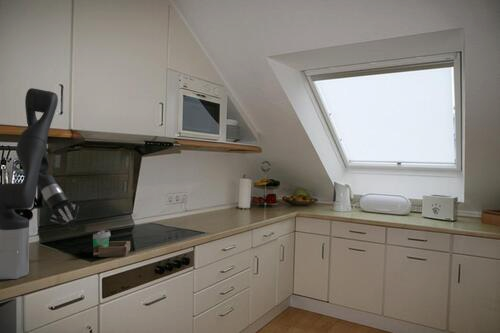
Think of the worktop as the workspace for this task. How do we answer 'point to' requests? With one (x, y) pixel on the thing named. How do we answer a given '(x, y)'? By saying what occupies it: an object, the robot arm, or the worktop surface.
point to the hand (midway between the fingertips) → (75, 228)
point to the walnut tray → (114, 249)
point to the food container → (100, 240)
